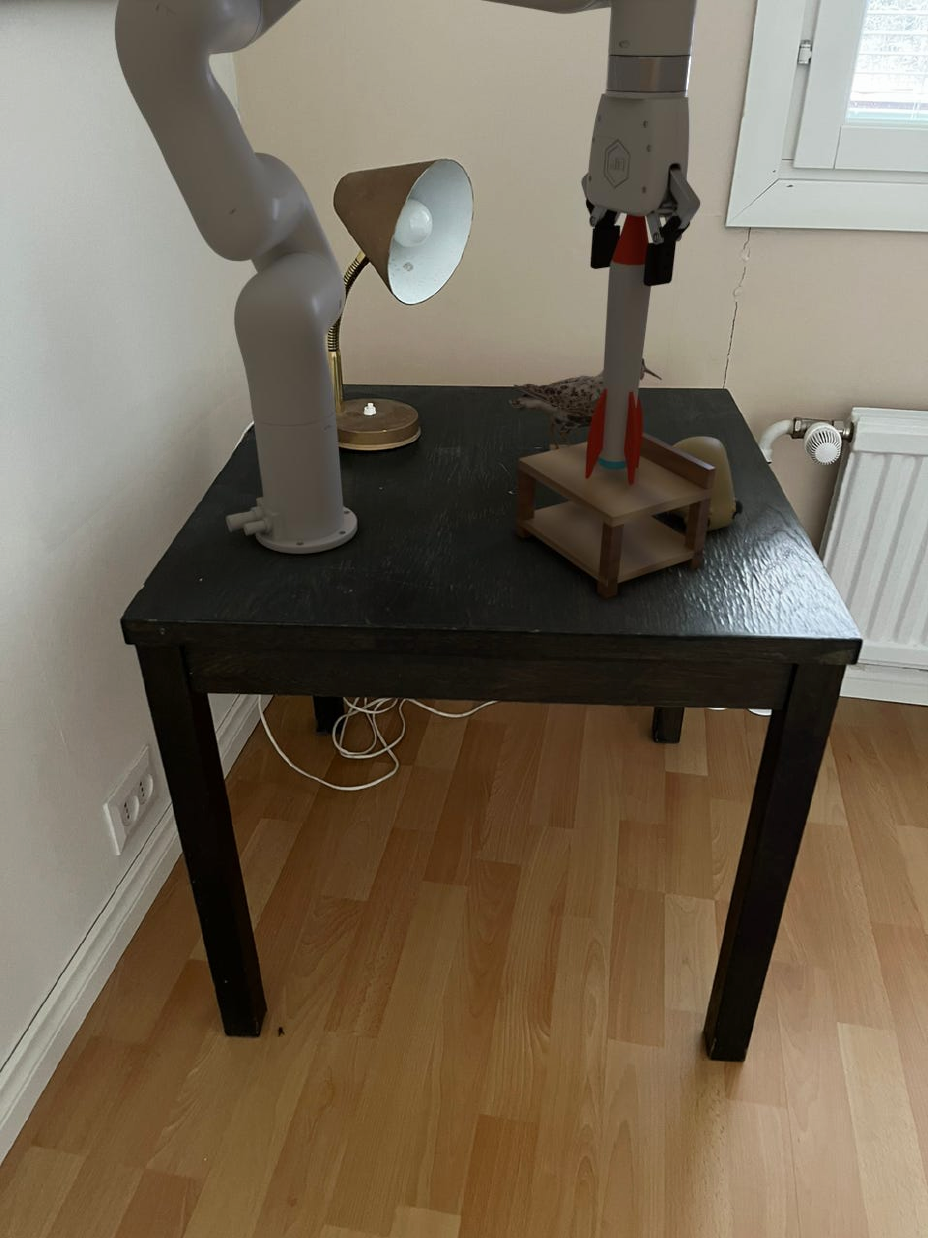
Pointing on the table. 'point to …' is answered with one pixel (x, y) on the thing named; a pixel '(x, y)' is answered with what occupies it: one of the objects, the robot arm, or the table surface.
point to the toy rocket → (622, 357)
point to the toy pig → (722, 498)
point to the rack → (617, 510)
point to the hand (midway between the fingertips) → (629, 274)
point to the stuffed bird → (566, 401)
